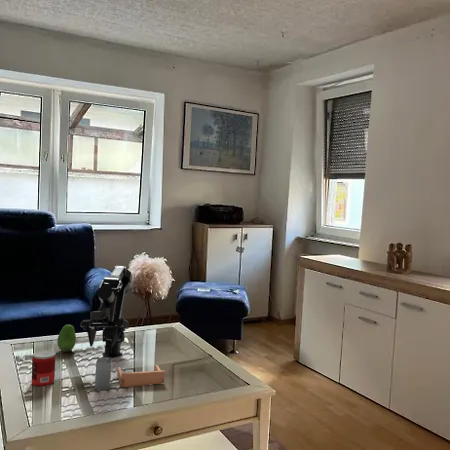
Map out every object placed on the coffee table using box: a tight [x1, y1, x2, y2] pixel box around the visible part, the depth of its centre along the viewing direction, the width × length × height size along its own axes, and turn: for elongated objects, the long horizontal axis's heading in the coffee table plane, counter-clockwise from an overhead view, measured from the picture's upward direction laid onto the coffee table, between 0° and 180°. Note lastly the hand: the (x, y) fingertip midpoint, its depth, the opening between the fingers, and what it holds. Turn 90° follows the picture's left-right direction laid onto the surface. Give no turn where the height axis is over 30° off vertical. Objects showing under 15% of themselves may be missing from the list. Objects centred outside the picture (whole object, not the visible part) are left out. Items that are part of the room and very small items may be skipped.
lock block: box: [94, 357, 113, 391], centre depth 172 cm, size 5×5×10 cm
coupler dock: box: [116, 364, 166, 388], centre depth 181 cm, size 12×16×5 cm
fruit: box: [57, 324, 77, 353], centre depth 206 cm, size 8×8×12 cm
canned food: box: [31, 349, 57, 387], centre depth 172 cm, size 8×8×11 cm
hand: (101, 346), depth 182 cm, fingers open, 9 cm apart
